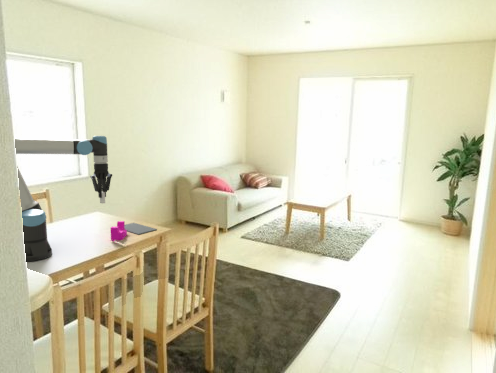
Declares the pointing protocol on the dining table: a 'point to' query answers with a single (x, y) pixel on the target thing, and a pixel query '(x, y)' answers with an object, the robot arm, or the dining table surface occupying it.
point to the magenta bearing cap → (118, 231)
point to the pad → (138, 228)
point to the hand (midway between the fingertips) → (102, 203)
